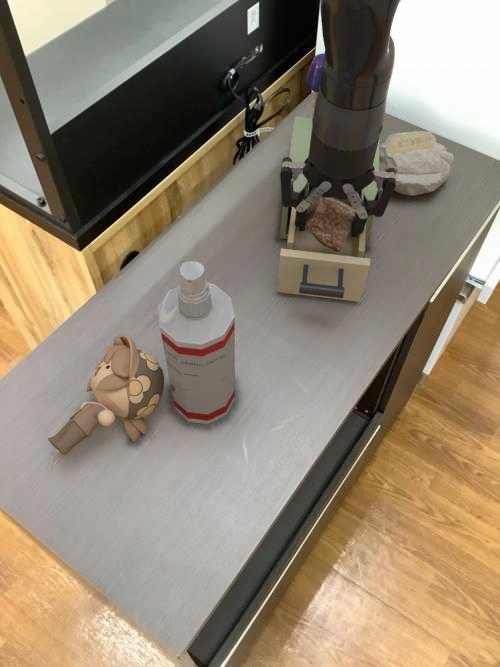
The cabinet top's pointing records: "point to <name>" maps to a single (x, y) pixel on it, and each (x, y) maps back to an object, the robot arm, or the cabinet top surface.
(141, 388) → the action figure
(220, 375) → the spray bottle
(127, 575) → the cabinet top surface
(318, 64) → the toy lamp
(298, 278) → the drawer
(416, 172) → the fossil replica
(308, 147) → the cabinet
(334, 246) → the stone
